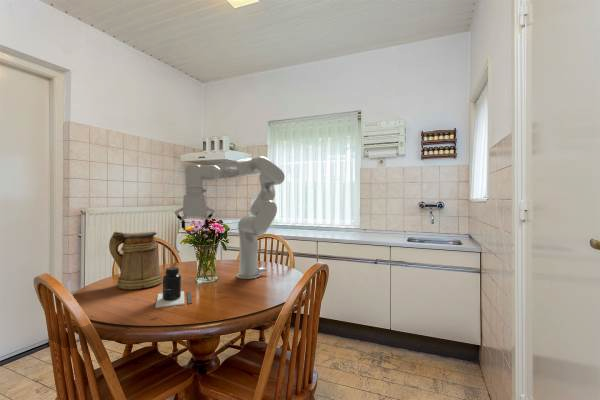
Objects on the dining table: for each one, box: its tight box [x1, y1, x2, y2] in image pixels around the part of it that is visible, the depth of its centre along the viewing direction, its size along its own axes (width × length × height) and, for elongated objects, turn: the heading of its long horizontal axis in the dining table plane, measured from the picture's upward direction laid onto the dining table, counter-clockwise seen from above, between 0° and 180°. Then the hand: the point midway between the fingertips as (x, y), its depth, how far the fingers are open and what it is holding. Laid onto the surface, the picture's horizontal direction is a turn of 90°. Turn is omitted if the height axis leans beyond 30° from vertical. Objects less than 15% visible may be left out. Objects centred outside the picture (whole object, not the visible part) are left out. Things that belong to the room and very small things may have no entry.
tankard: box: [108, 231, 163, 290], centre depth 139 cm, size 18×24×25 cm
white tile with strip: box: [155, 290, 193, 309], centre depth 119 cm, size 13×16×1 cm
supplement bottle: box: [162, 266, 182, 301], centre depth 119 cm, size 7×7×12 cm
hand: (195, 229), depth 136 cm, fingers open, 9 cm apart
